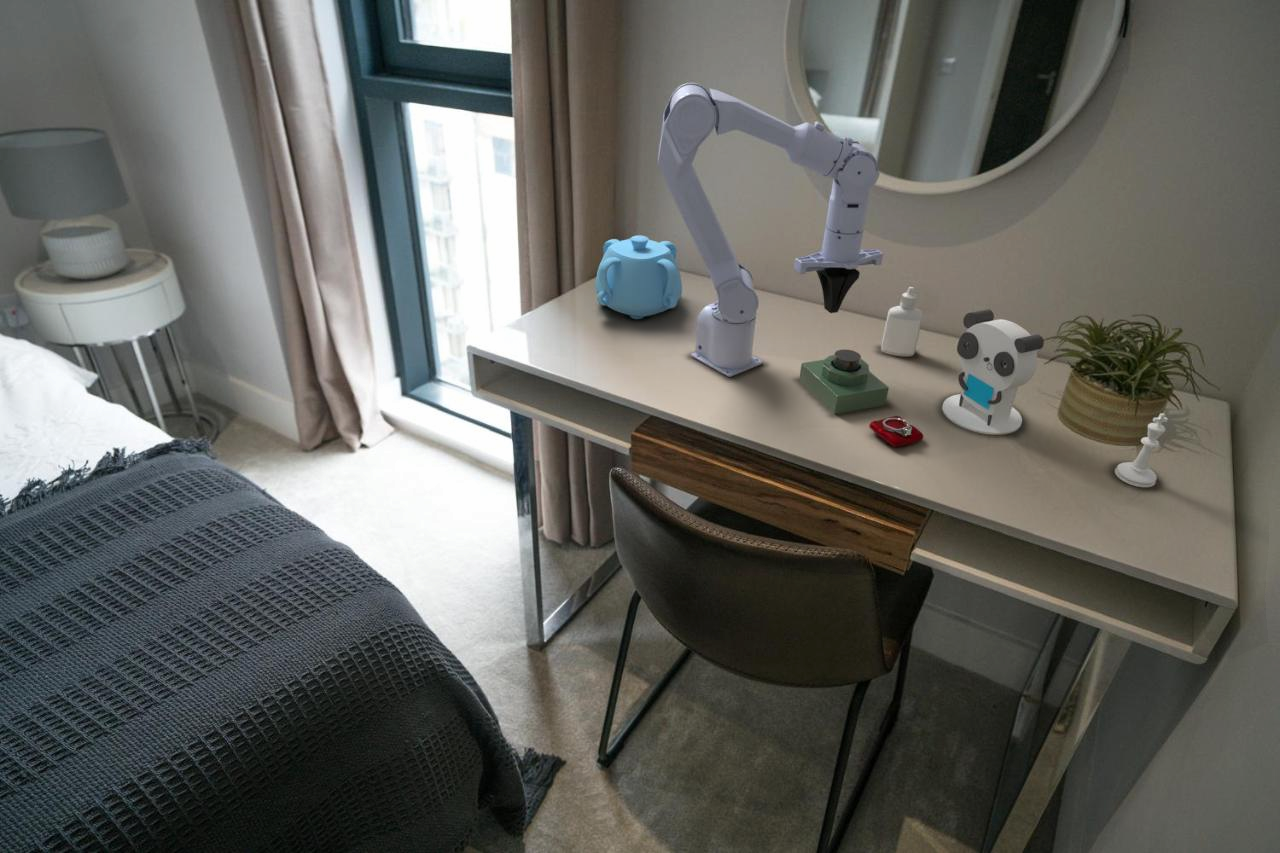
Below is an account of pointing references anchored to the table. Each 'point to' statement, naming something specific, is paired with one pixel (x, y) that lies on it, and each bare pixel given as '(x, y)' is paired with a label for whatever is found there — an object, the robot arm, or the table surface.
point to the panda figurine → (991, 373)
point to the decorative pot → (638, 276)
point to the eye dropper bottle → (902, 327)
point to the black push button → (846, 360)
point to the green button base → (843, 386)
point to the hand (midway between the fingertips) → (831, 310)
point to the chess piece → (1143, 458)
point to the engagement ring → (896, 431)
